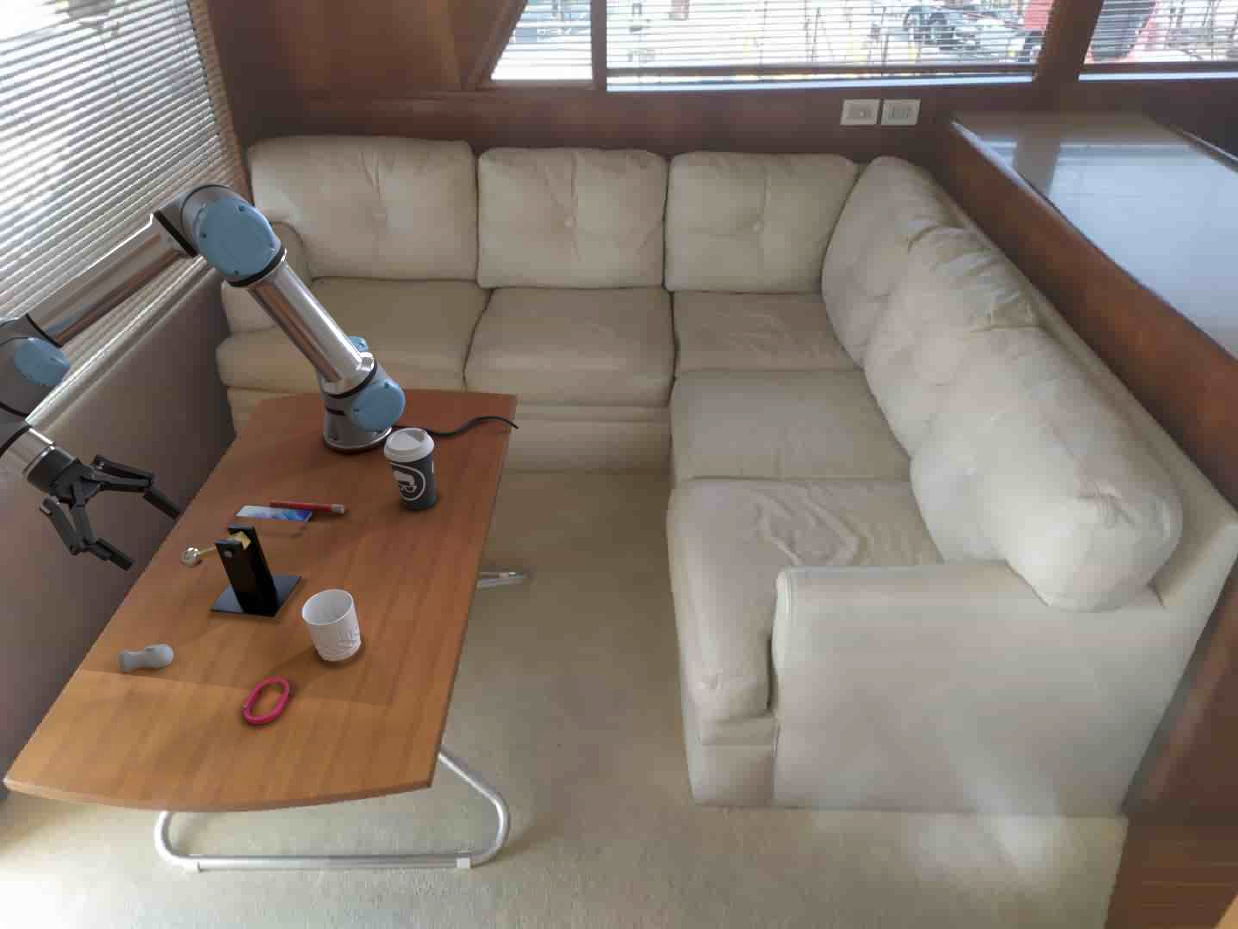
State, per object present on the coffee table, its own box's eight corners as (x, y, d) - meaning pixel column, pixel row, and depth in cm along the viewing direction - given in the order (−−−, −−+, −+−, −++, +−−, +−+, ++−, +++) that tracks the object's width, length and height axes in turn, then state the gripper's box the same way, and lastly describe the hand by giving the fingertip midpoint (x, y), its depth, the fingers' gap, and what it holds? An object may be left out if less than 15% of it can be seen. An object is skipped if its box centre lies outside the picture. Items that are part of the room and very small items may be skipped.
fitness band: (264, 681, 136) (261, 674, 135) (298, 685, 135) (295, 678, 134) (237, 722, 129) (234, 716, 128) (273, 727, 128) (270, 721, 127)
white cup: (314, 640, 143) (299, 597, 137) (362, 627, 145) (350, 584, 139) (318, 674, 136) (303, 630, 131) (368, 660, 139) (355, 616, 133)
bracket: (212, 615, 148) (184, 550, 139) (241, 576, 156) (217, 512, 147) (276, 622, 146) (252, 557, 138) (303, 582, 154) (282, 518, 146)
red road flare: (341, 515, 169) (339, 508, 168) (270, 510, 171) (268, 503, 170) (345, 509, 171) (343, 503, 170) (274, 505, 173) (272, 498, 172)
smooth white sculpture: (181, 658, 142) (169, 675, 137) (131, 662, 141) (117, 679, 136) (176, 635, 140) (164, 651, 135) (126, 639, 140) (111, 655, 135)
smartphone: (243, 504, 172) (313, 509, 170) (245, 507, 173) (314, 513, 170) (224, 526, 166) (296, 532, 164) (225, 529, 167) (297, 536, 165)
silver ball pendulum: (186, 574, 148) (171, 559, 146) (197, 561, 151) (183, 546, 149) (244, 555, 142) (230, 539, 141) (255, 541, 145) (241, 525, 144)
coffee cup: (448, 507, 171) (436, 446, 162) (400, 520, 168) (386, 457, 159) (438, 481, 178) (426, 421, 169) (392, 492, 175) (378, 431, 167)
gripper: (84, 432, 152) (188, 505, 158) (-24, 520, 132) (100, 600, 138) (99, 409, 148) (205, 485, 155) (-9, 496, 128) (117, 579, 135)
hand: (156, 539), depth 146 cm, fingers open, 13 cm apart
